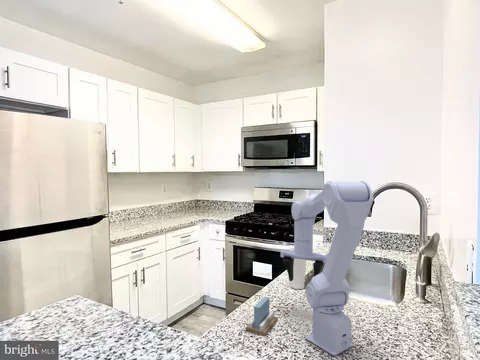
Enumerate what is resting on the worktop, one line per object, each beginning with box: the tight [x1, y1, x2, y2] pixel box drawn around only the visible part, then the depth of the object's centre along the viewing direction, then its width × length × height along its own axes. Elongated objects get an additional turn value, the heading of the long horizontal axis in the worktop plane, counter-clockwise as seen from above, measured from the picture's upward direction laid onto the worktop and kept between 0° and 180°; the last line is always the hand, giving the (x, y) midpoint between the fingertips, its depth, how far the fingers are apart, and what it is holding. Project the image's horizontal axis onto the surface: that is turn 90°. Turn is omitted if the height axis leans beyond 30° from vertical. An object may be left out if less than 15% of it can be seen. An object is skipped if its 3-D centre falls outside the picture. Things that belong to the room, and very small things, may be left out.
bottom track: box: [245, 310, 278, 337], centre depth 85 cm, size 10×6×3 cm, turn 154°
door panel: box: [253, 296, 270, 329], centre depth 85 cm, size 8×2×6 cm, turn 154°
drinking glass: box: [288, 247, 307, 290], centre depth 116 cm, size 7×7×15 cm
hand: (303, 282), depth 92 cm, fingers open, 7 cm apart
